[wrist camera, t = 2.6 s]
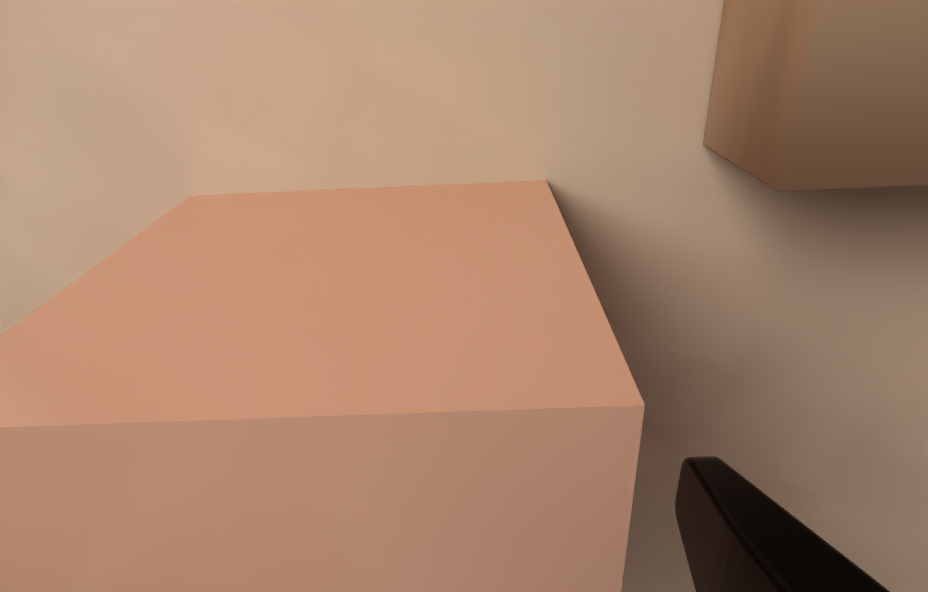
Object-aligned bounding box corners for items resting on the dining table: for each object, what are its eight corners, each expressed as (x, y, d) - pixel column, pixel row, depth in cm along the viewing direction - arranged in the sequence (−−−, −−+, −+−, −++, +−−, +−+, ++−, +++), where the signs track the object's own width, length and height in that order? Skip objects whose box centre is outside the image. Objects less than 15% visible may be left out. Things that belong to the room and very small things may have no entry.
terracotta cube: (539, 450, 12) (596, 789, 7) (265, 459, 13) (119, 799, 7) (545, 178, 10) (645, 405, 4) (192, 194, 10) (-129, 432, 4)
